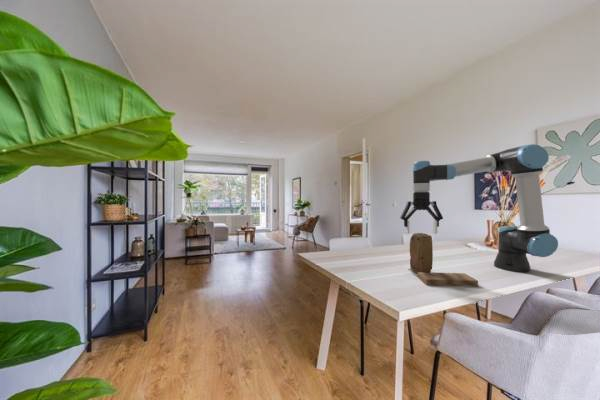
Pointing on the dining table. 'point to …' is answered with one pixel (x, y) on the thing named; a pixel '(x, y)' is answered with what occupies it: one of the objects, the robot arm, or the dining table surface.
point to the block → (421, 252)
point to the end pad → (413, 272)
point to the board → (447, 279)
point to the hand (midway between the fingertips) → (421, 233)
